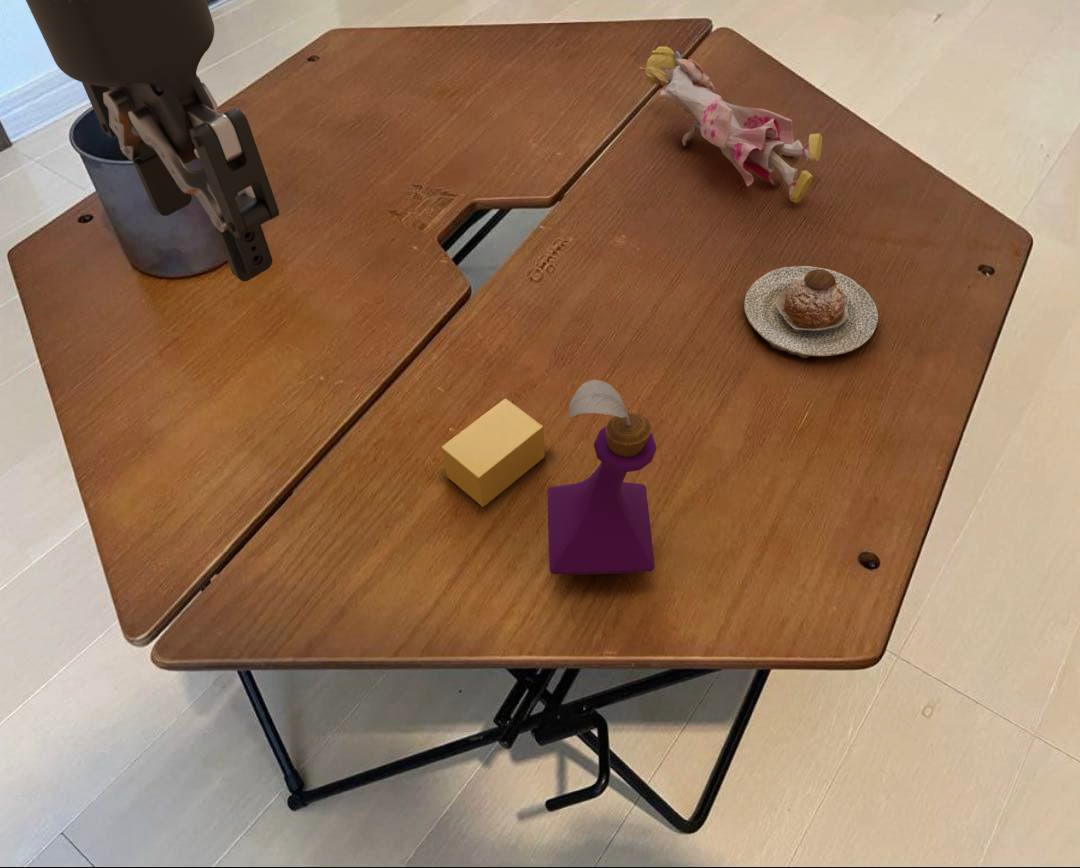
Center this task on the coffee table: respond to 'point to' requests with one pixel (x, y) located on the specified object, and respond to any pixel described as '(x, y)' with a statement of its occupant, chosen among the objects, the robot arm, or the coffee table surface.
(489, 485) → the block
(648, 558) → the perfume bottle
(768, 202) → the coffee table surface
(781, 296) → the pastry
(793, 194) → the figurine
